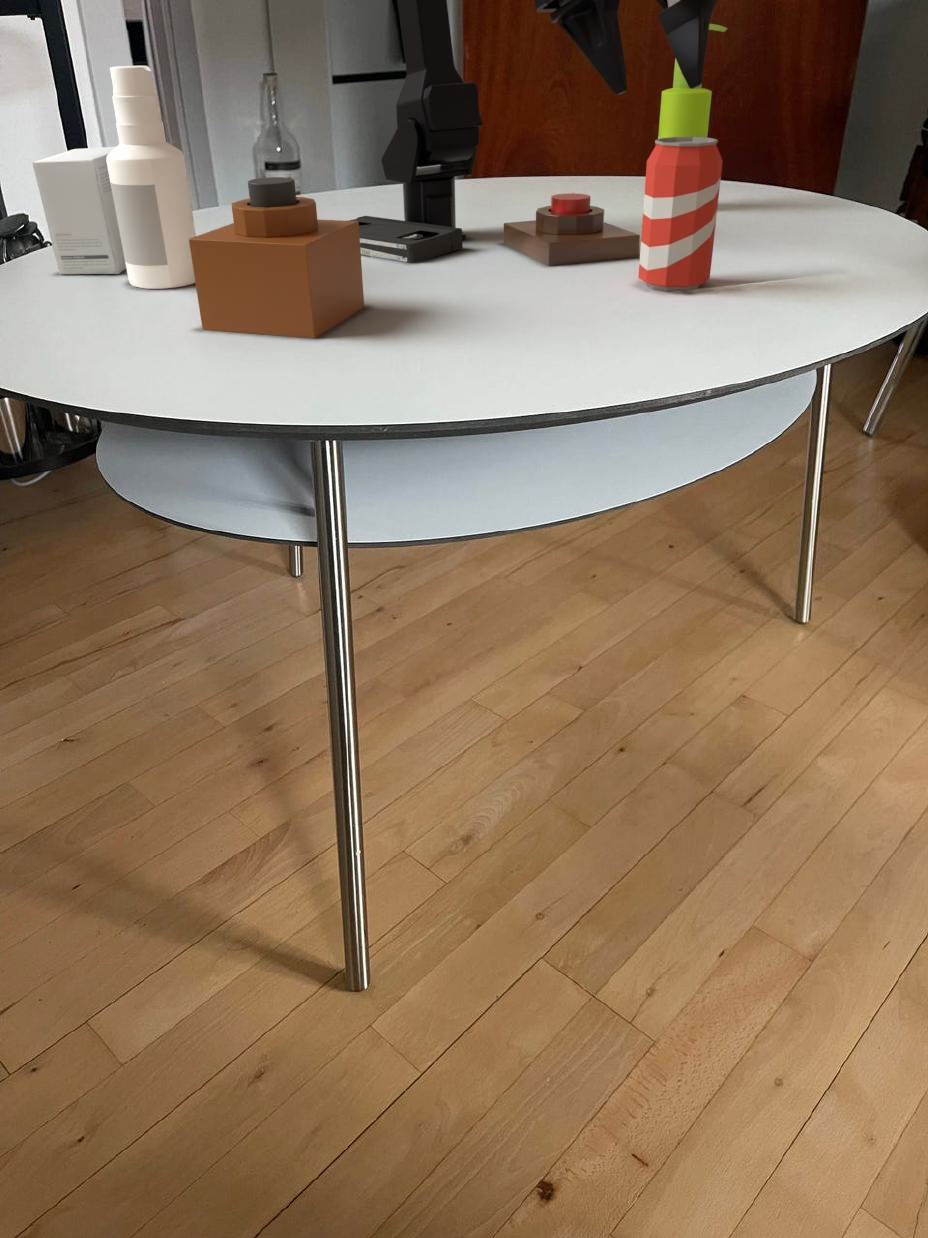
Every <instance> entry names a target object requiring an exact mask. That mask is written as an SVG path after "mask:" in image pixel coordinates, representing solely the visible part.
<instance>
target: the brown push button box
mask: <svg viewBox="0 0 928 1238" xmlns="http://www.w3.org/2000/svg"><path fill="white" fill-rule="evenodd" d="M296 201H297V204H295V205H290V206H283V207H253V206H251V205H250V198H244V199H241V200H238V201H235V202H232V203H231V213H232V219H233V220H232V221H233V222H232V223H230V224H229V223H228V224H227V225H223V226H221V227H218V228H216V229H213V230H210V231H207V232H205V233H202V234H199V235H196V237H193V238H190V239H189V244H190V251H191V257H192V264H193V270H194V277H195V283H194V284H195V289H196V296H197V303H198V309H199V315H200V321H201V328H202V330H203V331H215V332H226V333H227V332H228V333H240V334H253V335H265V336H278V337H279V336H280V337H289V338H290V337H291V338H304V339H316V338H318V337H320V336H321V335H322V334H325V333H326V332H327V331H329V330H331V329H333V328H334V327H335V326H337V325H338V324H341V323H342V322H343V321H345V320H347V319H348V318H350V317H351V316H353V315H355V314H356V313H357V312H359V311H361V310H362V309H364V308H365V297H364V296H365V295H364V282H363V281H364V280H363V266H362V256H361V250H360V235H359V222H358V221H349V220H339V219H337V220H336V219H318V210H317V202H316V200H315V199H314V198H311V197H306V196H296Z"/></svg>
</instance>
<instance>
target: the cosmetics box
mask: <svg viewBox="0 0 928 1238" xmlns="http://www.w3.org/2000/svg"><path fill="white" fill-rule="evenodd" d="M116 147H117V146H104V147H103V146H101V147H87V148H85V147H84V148H74V149H70V150H67V151H63V152H60V153H58V154H54V155H51V156H48V157H45V158H42V159H39V160H36V161H32V162H31V164H32V168H33V171H34V175H35V179H36V184H37V188H38V192H39V196H40V200H41V204H42V208H43V212H44V216H45V220H46V224H47V229H48V233H49V237H50V241H51V245H52V251H53V254H54V258H55V263H56V265H57V270H58V274H59V275H119V274H121V273H122V272H124V271H125V270H127V269H126V263H125V258H124V253H123V247H122V242H121V237H120V231H119V226H118V221H117V215H116V210H115V205H114V199H113V194H112V189H111V183H110V178H109V173H108V167H107V162H106V157H107V156H108V154H109V153H110V152H111V151H112V150H113V149H114V148H116Z"/></svg>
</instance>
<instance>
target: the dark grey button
mask: <svg viewBox="0 0 928 1238" xmlns="http://www.w3.org/2000/svg"><path fill="white" fill-rule="evenodd" d="M247 189H248V195H249V199H250V205H251V206H253V207H283V206H290V205H295V204H297V201H296V197H297V192H296V191H297V190H296V181H295V179H294V178H291V177H284V176H283V177H282V176H278V177H277V176H276V177H275V176H273V177H270V176H269V177H259V178H253V179H250V180H248V181H247Z"/></svg>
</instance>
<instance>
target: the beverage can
mask: <svg viewBox="0 0 928 1238" xmlns="http://www.w3.org/2000/svg"><path fill="white" fill-rule="evenodd" d="M718 143H719V139H718V138H717V139H716V138H712V137H707V138H704V137H669V138H659V139H658V138H657V139H655V140H654V144H655V146H654V148H653V150H652V151H651V153H650V155H649V157H648V158H647V160H646V165H645V166H646V167H645V169H646V170H645V182H644V193H643V195H644V196H643V208H642V222H641V234H640V247H639V262H638V263H639V264H638V279H639V280H641V281H643V282H645V284H646V286H647V287H649V288H651V289H652V290H655V291H662V292H673V293H674V292H675V293H676V292H677V293H678V292H680V293H681V292H682V293H685V292H688V291H695V290H697V289H698V288H699V287H700V286H701V285H704V284H706V283H707V282H708V281H709V280H710V278H711V270H712V261H713V251H714V242H715V234H716V226H717V216H718V206H719V197H720V188H721V180H722V170H723V162H724V161H723V158H722V156H721V153H720V151H719V148H718V146H717V144H718Z"/></svg>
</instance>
